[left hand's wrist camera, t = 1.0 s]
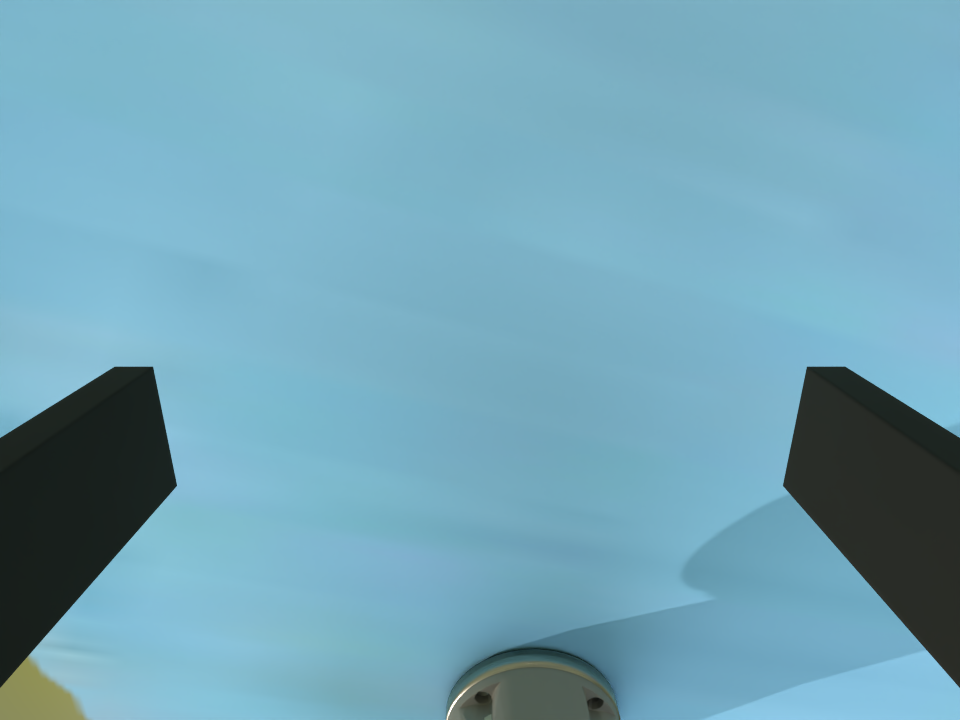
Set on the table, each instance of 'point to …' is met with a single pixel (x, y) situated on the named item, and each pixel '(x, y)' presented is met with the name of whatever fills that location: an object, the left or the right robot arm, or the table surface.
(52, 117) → the table surface
